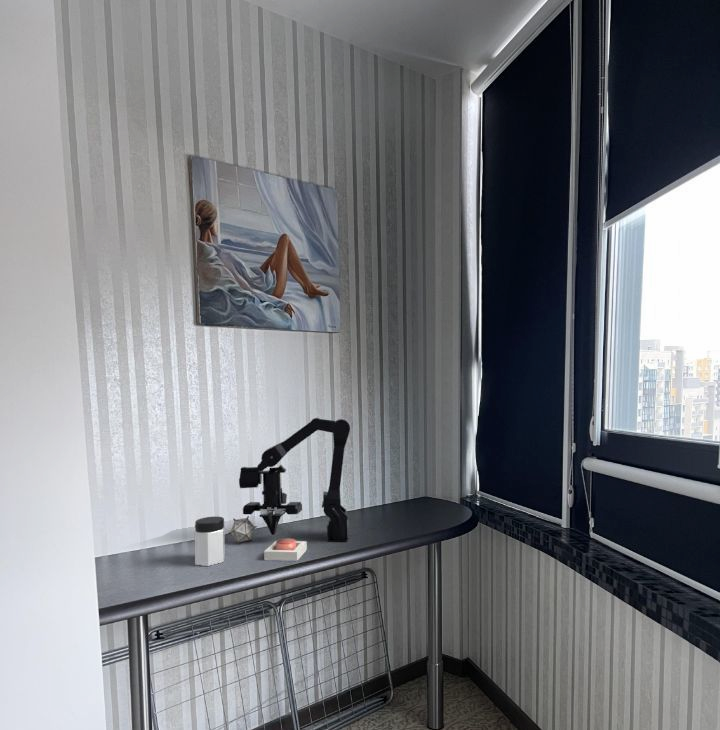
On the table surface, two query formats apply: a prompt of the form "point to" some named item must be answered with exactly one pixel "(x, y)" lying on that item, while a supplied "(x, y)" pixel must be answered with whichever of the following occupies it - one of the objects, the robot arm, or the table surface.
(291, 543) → the popper button
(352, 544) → the table surface
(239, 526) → the grey icosahedron ornament
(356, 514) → the table surface
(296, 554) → the base
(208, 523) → the jar
